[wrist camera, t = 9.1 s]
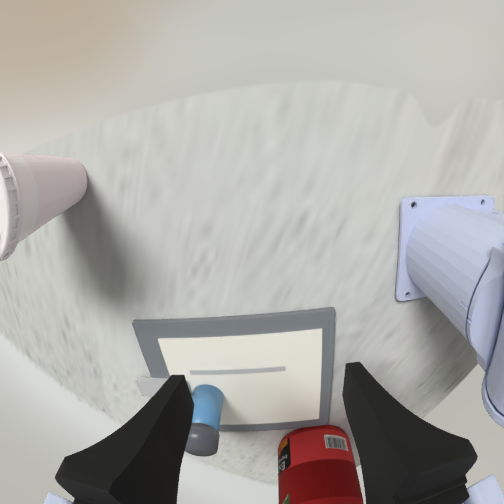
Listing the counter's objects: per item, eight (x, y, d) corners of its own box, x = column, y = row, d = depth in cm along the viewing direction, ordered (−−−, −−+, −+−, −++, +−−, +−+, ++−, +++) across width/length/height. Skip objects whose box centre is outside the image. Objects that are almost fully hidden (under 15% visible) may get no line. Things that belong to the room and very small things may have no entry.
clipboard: (333, 306, 22) (336, 314, 21) (327, 420, 26) (328, 428, 25) (119, 320, 23) (113, 326, 22) (163, 425, 28) (160, 432, 27)
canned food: (270, 430, 27) (270, 521, 17) (346, 415, 26) (367, 504, 16) (284, 462, 30) (287, 538, 19) (349, 449, 29) (365, 524, 18)
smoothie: (96, 131, 18) (-69, 140, 5) (108, 216, 20) (-38, 304, 7) (36, 151, 18) (-105, 181, 5) (48, 226, 21) (-80, 299, 7)
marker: (220, 382, 24) (212, 436, 18) (227, 405, 25) (221, 456, 19) (188, 383, 24) (173, 435, 19) (196, 405, 25) (185, 455, 19)
